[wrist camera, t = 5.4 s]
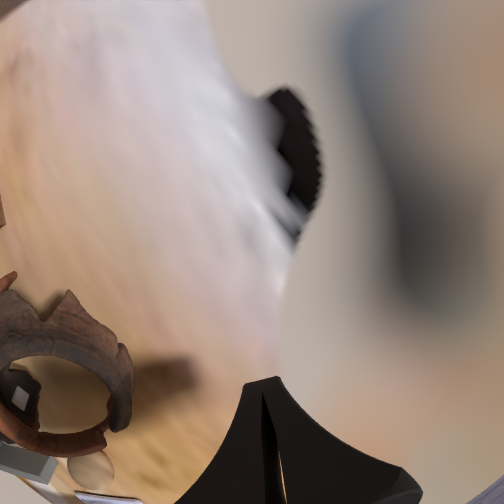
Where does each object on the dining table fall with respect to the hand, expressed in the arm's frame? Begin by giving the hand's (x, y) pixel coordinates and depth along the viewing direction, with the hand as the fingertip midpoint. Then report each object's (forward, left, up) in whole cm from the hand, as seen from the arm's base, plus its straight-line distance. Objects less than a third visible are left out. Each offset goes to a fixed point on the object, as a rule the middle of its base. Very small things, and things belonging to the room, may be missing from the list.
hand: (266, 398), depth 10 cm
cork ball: (-7, +14, -4) cm, 16 cm away
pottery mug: (+2, +12, -5) cm, 13 cm away
